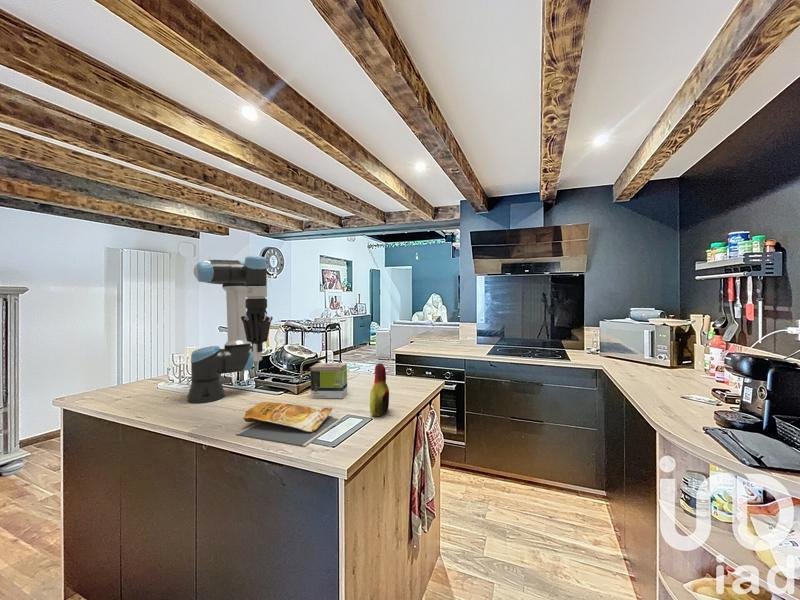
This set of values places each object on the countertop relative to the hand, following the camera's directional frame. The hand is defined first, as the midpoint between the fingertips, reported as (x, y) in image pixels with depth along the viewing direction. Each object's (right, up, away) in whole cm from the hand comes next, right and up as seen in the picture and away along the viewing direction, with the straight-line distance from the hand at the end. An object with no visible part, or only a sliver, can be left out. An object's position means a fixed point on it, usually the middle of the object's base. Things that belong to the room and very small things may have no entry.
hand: (257, 360), depth 131 cm
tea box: (+20, -23, +34) cm, 45 cm away
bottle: (+46, -23, +10) cm, 52 cm away
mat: (+14, -24, -4) cm, 28 cm away
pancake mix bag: (-2, -21, +2) cm, 21 cm away
